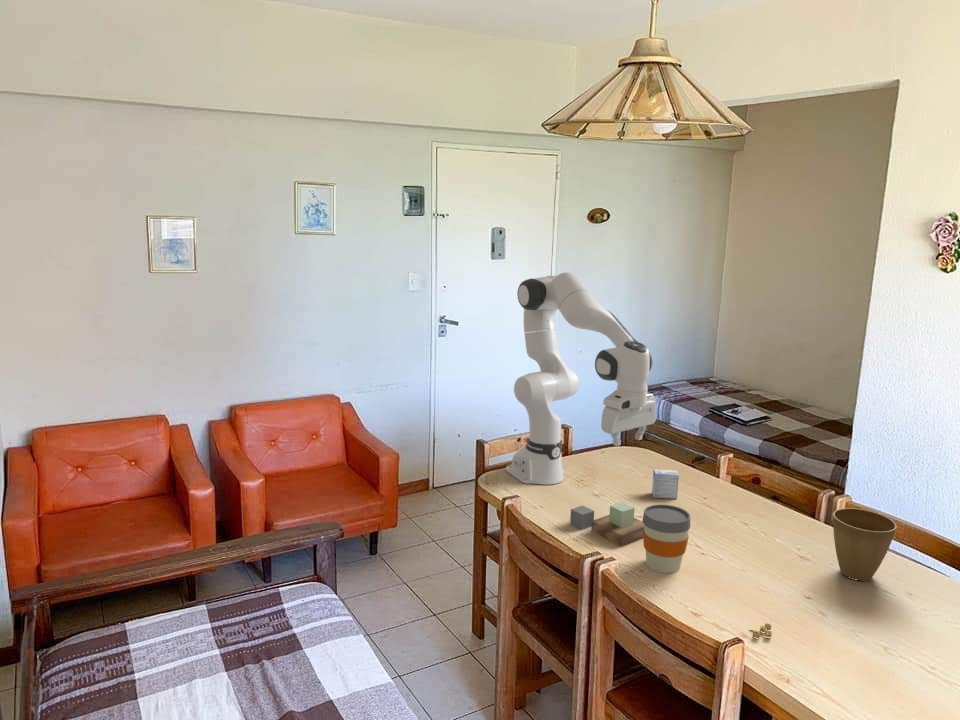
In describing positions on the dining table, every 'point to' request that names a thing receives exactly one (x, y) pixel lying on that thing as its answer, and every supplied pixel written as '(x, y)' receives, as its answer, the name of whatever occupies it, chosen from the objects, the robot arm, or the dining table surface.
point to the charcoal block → (581, 517)
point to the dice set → (762, 628)
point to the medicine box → (665, 484)
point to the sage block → (621, 514)
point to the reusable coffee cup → (665, 537)
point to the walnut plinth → (618, 531)
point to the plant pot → (861, 541)
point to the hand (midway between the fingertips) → (627, 442)
